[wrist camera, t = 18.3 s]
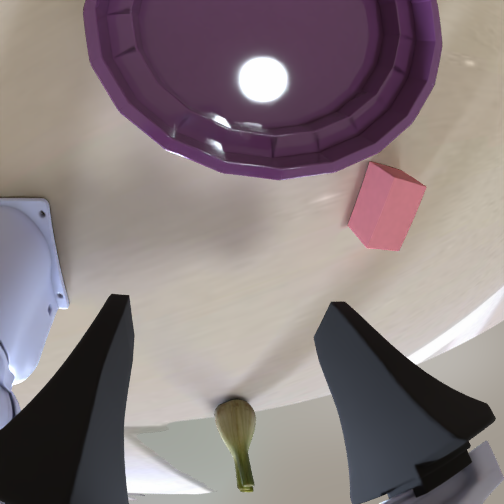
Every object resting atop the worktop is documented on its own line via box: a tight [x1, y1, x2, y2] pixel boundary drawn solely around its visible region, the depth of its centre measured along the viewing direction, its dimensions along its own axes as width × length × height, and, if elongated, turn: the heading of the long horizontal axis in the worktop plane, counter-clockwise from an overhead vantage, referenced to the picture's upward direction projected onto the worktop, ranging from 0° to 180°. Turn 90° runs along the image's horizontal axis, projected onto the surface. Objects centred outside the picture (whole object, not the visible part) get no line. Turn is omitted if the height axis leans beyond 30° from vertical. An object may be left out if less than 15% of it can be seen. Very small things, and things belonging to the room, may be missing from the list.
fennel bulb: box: [214, 399, 256, 492], centre depth 28 cm, size 6×5×12 cm
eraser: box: [348, 161, 426, 251], centre depth 18 cm, size 5×3×3 cm, turn 169°
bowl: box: [83, 0, 442, 180], centre depth 10 cm, size 17×17×4 cm
